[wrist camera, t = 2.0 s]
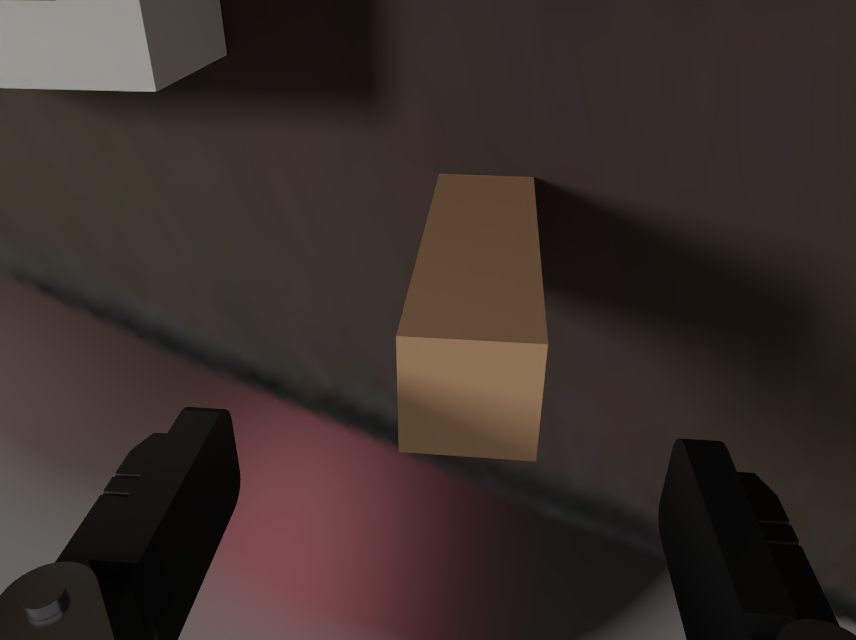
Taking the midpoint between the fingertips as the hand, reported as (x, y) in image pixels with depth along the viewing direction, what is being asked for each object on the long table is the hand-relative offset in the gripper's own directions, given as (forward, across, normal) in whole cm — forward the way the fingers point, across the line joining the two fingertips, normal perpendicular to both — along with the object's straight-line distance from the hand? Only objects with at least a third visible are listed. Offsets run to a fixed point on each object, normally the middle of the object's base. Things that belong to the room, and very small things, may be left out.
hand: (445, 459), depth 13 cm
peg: (+12, 0, 0) cm, 12 cm away
